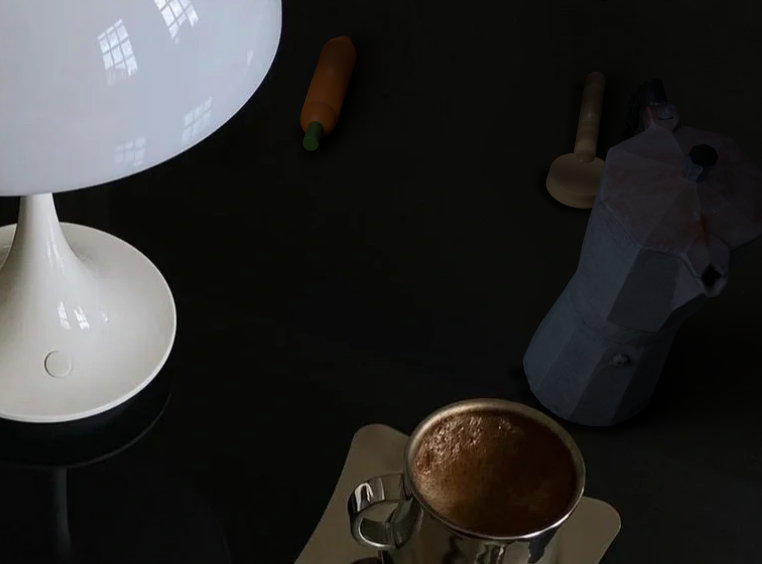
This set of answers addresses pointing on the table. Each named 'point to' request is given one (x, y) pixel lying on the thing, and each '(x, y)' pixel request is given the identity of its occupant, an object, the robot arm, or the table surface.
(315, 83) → the carrot
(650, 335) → the moka pot
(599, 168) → the spoon
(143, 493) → the table surface
